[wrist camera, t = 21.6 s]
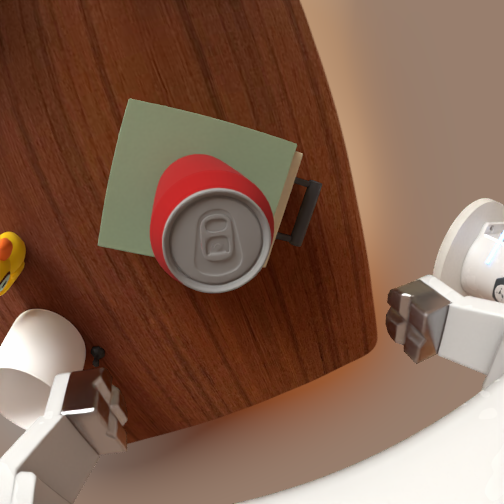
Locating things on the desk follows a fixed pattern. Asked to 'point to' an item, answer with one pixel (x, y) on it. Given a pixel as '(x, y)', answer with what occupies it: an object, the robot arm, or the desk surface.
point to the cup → (36, 363)
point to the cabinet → (168, 151)
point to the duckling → (10, 259)
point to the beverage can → (210, 225)
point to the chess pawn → (97, 355)
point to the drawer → (305, 208)
